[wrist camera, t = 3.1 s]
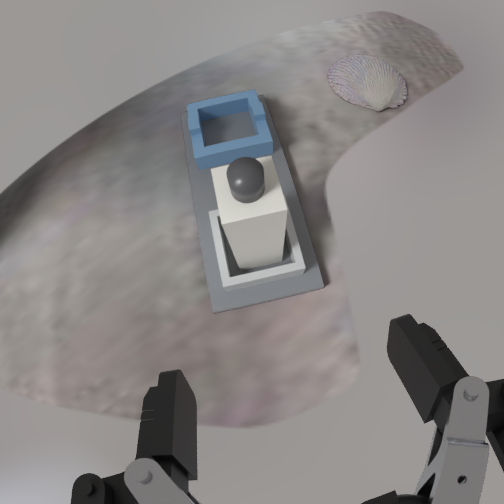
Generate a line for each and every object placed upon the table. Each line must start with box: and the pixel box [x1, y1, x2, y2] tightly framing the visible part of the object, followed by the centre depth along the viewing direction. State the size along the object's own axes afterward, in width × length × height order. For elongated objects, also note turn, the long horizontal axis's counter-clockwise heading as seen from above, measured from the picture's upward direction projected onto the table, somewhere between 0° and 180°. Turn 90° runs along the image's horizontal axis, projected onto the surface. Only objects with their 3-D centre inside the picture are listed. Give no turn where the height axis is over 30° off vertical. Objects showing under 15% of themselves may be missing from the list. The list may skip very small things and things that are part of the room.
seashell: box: [328, 54, 407, 111], centre depth 31 cm, size 10×6×10 cm
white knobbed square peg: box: [211, 156, 288, 271], centre depth 20 cm, size 3×3×12 cm
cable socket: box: [181, 90, 324, 314], centre depth 27 cm, size 21×9×4 cm, turn 12°
